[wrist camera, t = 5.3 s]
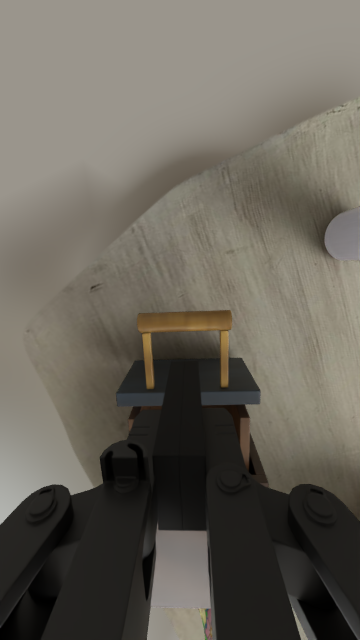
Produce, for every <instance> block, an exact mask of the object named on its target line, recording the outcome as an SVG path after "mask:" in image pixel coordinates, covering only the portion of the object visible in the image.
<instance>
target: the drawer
mask: <svg viewBox="0 0 360 640" xmlns="http://www.w3.org/2000/svg"><path fill="white" fill-rule="evenodd" d="M137 326H138V331H139V332H140V333H142V338H143V350H144V360H140V361H135V362H134V363H133V365H132V367H131V369H130V370H129V372H128V374H127V375H126V377H125V379H124V381H123V382H122V384H121V386H120V388H119V389H118V391H117V393H116V399H117V406H118V407H119V406H133V409H132V411H131V414H130V416H129V418H128V424H129V432H130V430H131V428H132V424H133V421H134V419H135V417H136V416H137V415H138V414H139V413H140V412H141V411H142V410H161V409H162V404H163V399H164V394H165V389H166V384H167V379H168V374H169V369H170V364H171V361H198V364H199V376H200V389H201V402H202V408H225V409H226V410H227V411H228V412H229V413H230V414H231V415H232V418H233V421H234V426H235V429H236V432H237V436H238V440H239V443H240V447H241V451H242V454H243V458H244V462H245V465H246V468H247V470H248V472H249V442H250V417H249V414H248V412H247V409H246V407H245V404H260V389H259V387H258V386H257V384H256V382H255V380H254V379H253V377H252V375H251V373H250V372H249V370H248V368H247V366H246V365H245V363H244V361H243V359H242V358H228V330H231V328H232V314H231V311H230V310H219V311H191V312H164V313H139V314H138V318H137ZM210 330H220V358H216V359H178V360H153V355H152V341H151V332H179V331H210Z"/></svg>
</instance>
